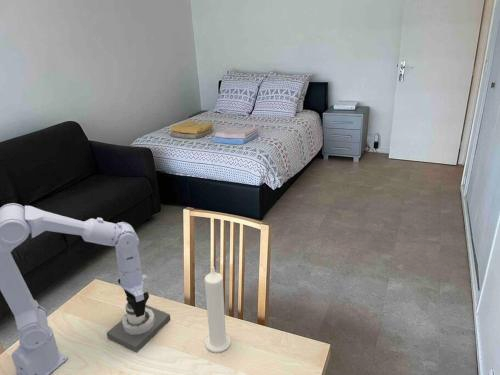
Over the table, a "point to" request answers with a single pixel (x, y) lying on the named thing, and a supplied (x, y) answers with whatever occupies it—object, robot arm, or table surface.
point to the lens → (134, 316)
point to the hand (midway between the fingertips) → (136, 307)
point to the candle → (216, 313)
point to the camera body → (138, 329)
